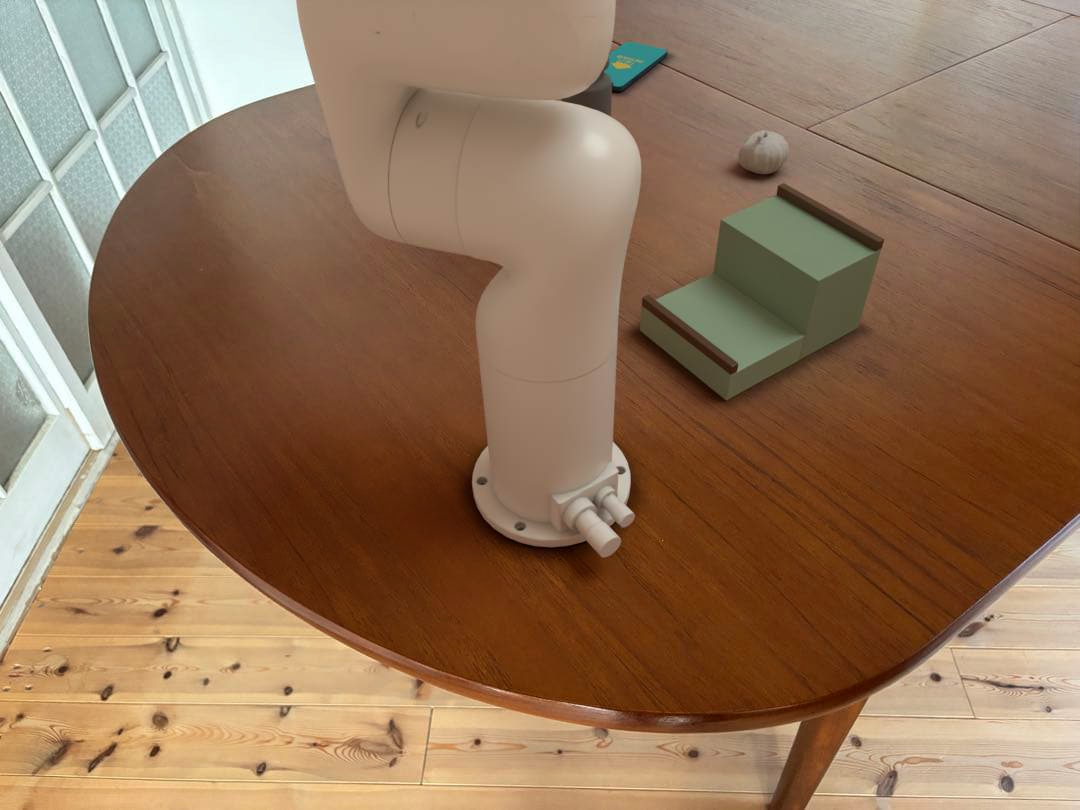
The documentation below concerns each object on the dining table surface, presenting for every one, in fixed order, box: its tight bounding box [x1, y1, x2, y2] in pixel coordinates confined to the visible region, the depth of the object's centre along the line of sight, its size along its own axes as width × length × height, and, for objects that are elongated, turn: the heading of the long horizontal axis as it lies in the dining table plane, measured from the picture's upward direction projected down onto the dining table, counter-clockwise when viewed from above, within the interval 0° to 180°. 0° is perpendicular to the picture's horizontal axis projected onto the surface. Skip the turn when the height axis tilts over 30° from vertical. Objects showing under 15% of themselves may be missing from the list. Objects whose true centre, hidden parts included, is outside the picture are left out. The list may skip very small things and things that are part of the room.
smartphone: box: [604, 41, 669, 92], centre depth 125 cm, size 7×1×15 cm
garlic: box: [738, 129, 790, 175], centre depth 102 cm, size 6×5×5 cm
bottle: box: [560, 56, 613, 117], centre depth 100 cm, size 6×6×15 cm
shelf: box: [639, 182, 885, 401], centre depth 79 cm, size 12×17×10 cm
